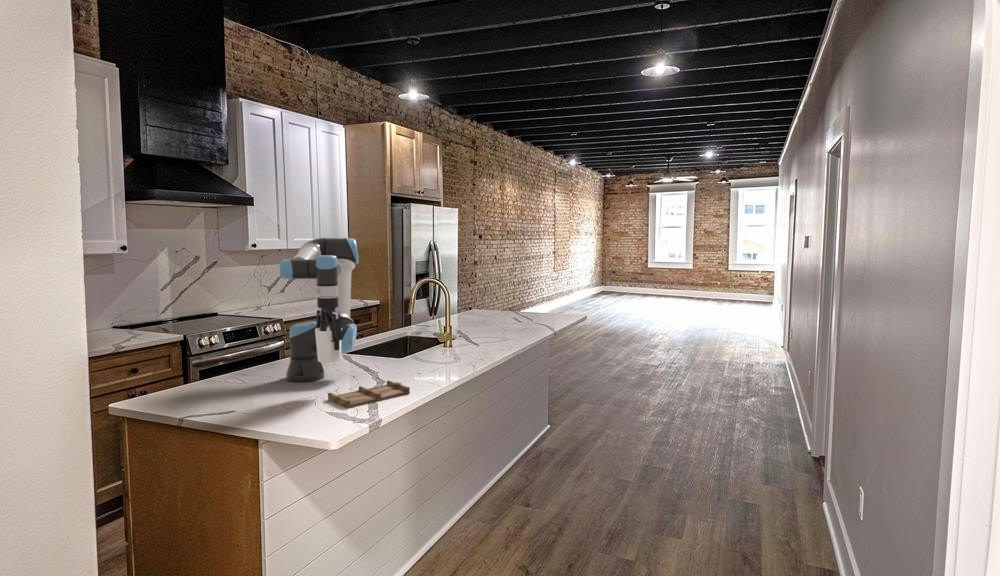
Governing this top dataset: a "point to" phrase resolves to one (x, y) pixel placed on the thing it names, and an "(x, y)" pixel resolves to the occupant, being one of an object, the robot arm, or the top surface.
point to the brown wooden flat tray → (369, 394)
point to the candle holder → (325, 346)
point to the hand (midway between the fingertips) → (329, 356)
